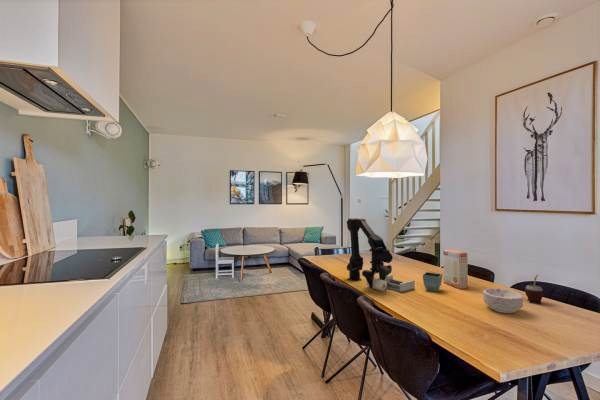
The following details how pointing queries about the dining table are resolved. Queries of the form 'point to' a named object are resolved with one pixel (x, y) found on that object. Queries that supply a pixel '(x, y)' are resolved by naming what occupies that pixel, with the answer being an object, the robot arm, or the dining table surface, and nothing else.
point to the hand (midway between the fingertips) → (376, 286)
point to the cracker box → (455, 268)
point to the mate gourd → (534, 293)
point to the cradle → (399, 284)
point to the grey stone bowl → (503, 300)
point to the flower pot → (432, 281)
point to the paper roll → (379, 284)
